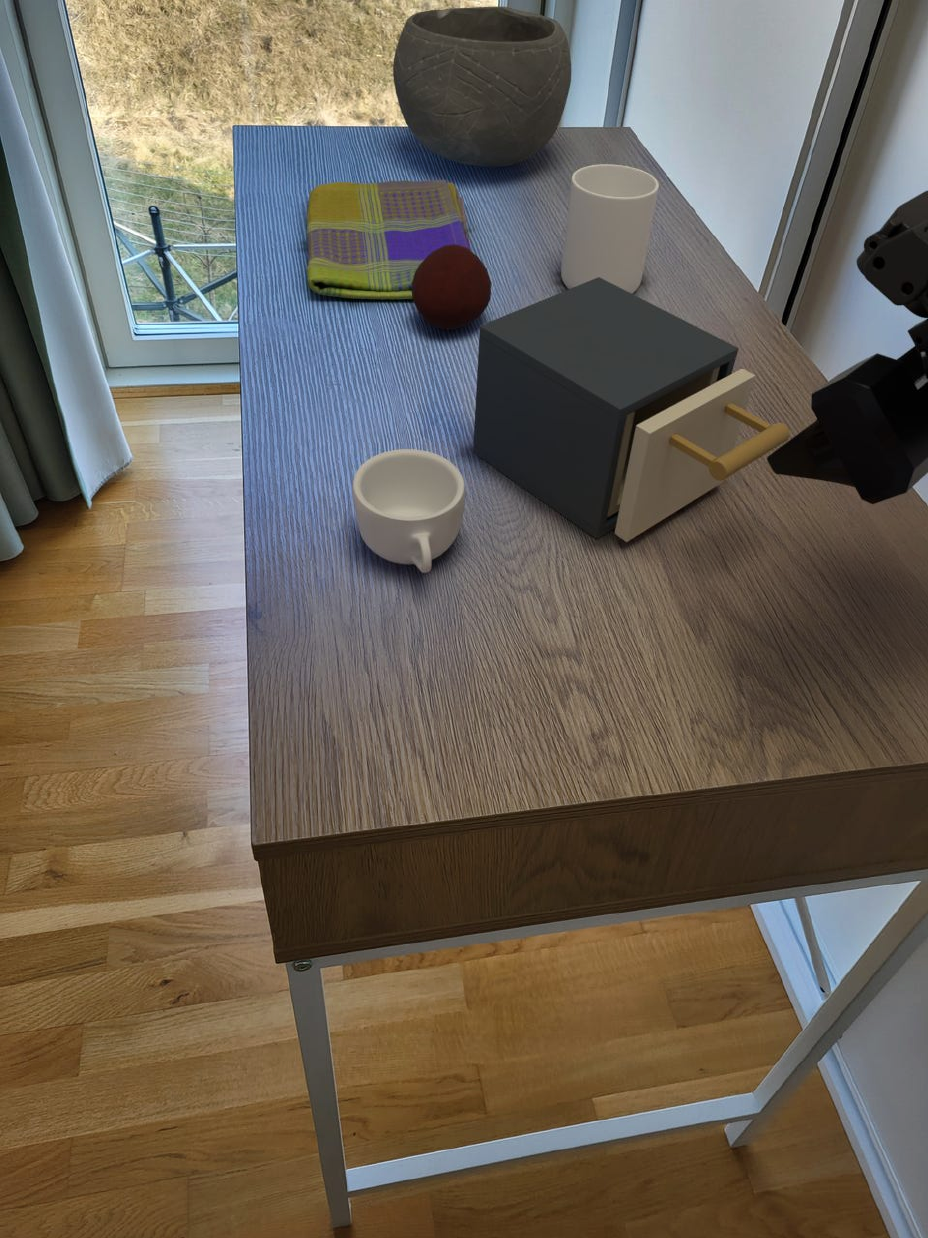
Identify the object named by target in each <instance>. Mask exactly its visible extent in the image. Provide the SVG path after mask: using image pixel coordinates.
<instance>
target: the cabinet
mask: <svg viewBox="0 0 928 1238" xmlns="http://www.w3.org/2000/svg"><path fill="white" fill-rule="evenodd" d="M478 334H479V338H478V352H477V353H478V355H477V371H476V391H475V408H474V427H473V442H472V443H473V444H472V445H473V447H472V453H473V454H474V455H475V456H477V457H478V458H480V459H481V460H482V461H484V462H486V463H488V465H490V466H492V467H493V468H494V469H496V470H497V471H499V472H500V473H501V474H503V475H504V476H505V477H507V478H508V479H510V480H512V481H513V482H514V483H516V484H517V485H518V486H520V487H521V488H523V489H524V490H526V491H527V492H529V493H530V494H531V495H532V496H534V497H536V498H537V499H538V500H540V501H542V503H544V504H546V505H547V506H548V507H550V508H551V509H553V510H554V511H555V512H557V513H558V514H560V515H561V516H563V517H564V518H565V519H567V520H568V521H570V522H571V523H573V524H574V525H576V526H577V527H578V528H579V529H581V530H582V531H584V532H586V534H589V535H590V536H591V537H593V538H595V540H598V539H600V538H601V537H603V536H604V535H606V534H607V533H609V532H611V531H613V530H614V529H616V524H617V519H618V514H619V511H618V512H616V513H614V514H613V515H611V516H609V517H607V515H608V510H609V504H610V499H611V494H612V489H613V483H614V478H615V473H616V468H617V462H618V457H619V452H620V446H621V441H622V436H623V431H624V425H625V420H626V416H627V415H629V414H631V413H632V412H634V411H636V410H638V409H640V408H642V407H644V406H646V405H648V404H650V403H651V402H653V401H655V400H657V399H659V398H661V397H663V396H665V395H667V394H669V393H670V392H672V391H674V390H676V389H678V388H680V387H682V386H684V385H686V384H688V383H689V382H691V381H693V380H695V379H697V378H699V377H701V376H703V375H705V374H707V373H708V372H710V371H712V370H714V369H716V368H718V367H720V369H719V373H718V377H717V381H716V382H718V381H720V380H722V379H723V378H725V377H727V376H729V375H731V374H733V370H734V366H735V363H736V358H737V356H738V353H739V347H737V346H735V345H733V344H731V343H730V342H728V341H725V340H724V339H721V338H720V337H718V336H716V335H713V334H712V333H710V332H708V331H706V330H704V329H702V328H700V327H698V326H696V325H694V324H692V323H690V322H689V321H687V320H685V319H682V318H680V317H678V316H676V315H674V314H672V313H671V312H669V311H667V310H665V309H662V308H661V307H659V306H657V305H655V304H653V303H651V302H649V301H647V300H645V299H643V298H641V297H639V296H637V295H635V294H634V293H632V294H631V293H629V292H627V291H625V290H623V289H621V288H619V287H618V286H616V285H614V284H612V283H610V282H608V281H606V280H604V279H602V278H600V277H598V278H595V279H593V280H590V281H588V282H585V283H583V284H581V285H578V286H576V287H573V288H571V289H568V288H567V289H566V290H564V291H561V292H559V293H557V294H554V295H551V296H549V297H546V298H544V299H542V300H539V301H537V302H535V303H532V304H530V305H527V306H525V307H523V308H520V309H518V310H515V311H512V312H510V313H508V314H505V315H503V316H500V317H498V318H496V319H493V320H491V321H488V322H486V323H483V324H481V325H479V333H478Z"/></svg>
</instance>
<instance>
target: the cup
mask: <svg viewBox="0 0 928 1238" xmlns="http://www.w3.org/2000/svg"><path fill="white" fill-rule="evenodd" d="M659 187H660V185H659V182H658V179H656V177H654V176H653V175H652V174H650V173H648V172H646V171H644V170H641V169H639V168H635V167H633V166H628V165H621V164H613V163H612V164H611V163H610V164H609V163H607V164H606V163H601V164H593V165H592V164H591V165H588V166H583V167H581V168H579V169H577V170H575V172H574V173H573V174H572V176H571V182H570V188H569V189H570V190H569V198H568V207H567V216H566V223H565V231H564V232H565V233H564V240H563V250H562V257H561V265H560V266H561V267H560V268H561V269H560V276H561V280H562V282H563V284H564V286H565V287H566V288H567V290H568V289H571V288H573V287H576V286H578V285H581V284H583V283H585V282H588V281H590V280H593V279H595V278H598V277H600V278H602V279H604V280H606V281H608V282H610V283H612V284H614V285H616V286H618V287H619V288H621V289H623V290H625V291H627V292H629V293H631V294H634V293H635V292H636V291H637V290H638V288H639V287H640V285H641V282H642V279H643V275H644V270H645V264H646V258H647V253H648V248H649V244H650V243H649V242H650V236H651V231H652V226H653V220H654V215H655V209H656V205H657V200H658V194H659V193H658V192H659Z"/></svg>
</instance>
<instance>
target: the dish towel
mask: <svg viewBox="0 0 928 1238" xmlns="http://www.w3.org/2000/svg"><path fill="white" fill-rule="evenodd" d="M306 215H307V217H306V246H307V264H306V265H307V266H306V274H307V285H308V287H309V289H310V290H311V291H313V292H314V293H317V295H322V296H326V297H327V296H328V297H334V298H335V297H336V298H342V299H353V300H354V299H359V300H413V298H412V291H411V286H412V281H413V277H414V274H415V271H416V270H417V268H418V266H419V265H420V264H421V263H422V262H423V261H424V259H425V258H426V257H427V256H428V255H429V254H431V253H432V252H433V251H435V250H437V249H439V248H441V247H443V246H446V245H454V244H456V245H460V246H463V247H466V248H468V249H469V250H470V251H471V247H470V246H471V245H470V237H469V232H468V227H467V218H466V211H465V207H464V198H463V197H461V194H460V190H459V189H458V188H456V186H455V184H454V183H453V182H447V180H446V179H437V180H417V181H415V180H388V181H387V180H386V181H380V182H378V181H377V182H352V181H351V182H350V181H334V182H326V183H322V184H320V185H317V186H315V187H314V188H312V190H311V191H310V192H309V195H308V203H307V213H306Z"/></svg>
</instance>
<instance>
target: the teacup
mask: <svg viewBox="0 0 928 1238" xmlns="http://www.w3.org/2000/svg"><path fill="white" fill-rule="evenodd" d="M352 481H353V482H352V487H351V494H352V500H353V501H352V502H353V508H354V512H355V517H356V518H355V519H356V522H357V527H358V530H359V534H360V536H361V538H362V540H363V541H364V543H365V544H366V546H367V547H368V548H369V549H370V551H372V552H373V553H374V554H375V555H377V556H379V557H381V559H383V560H386V561H389V562H391V563H396V564H400V565H415V566H416V567H417V569H418V570H419V571H420V572H421V573H422V574H427V573H430V572H431V570H432V565H433V564H432V563H433V562H432V561H433V560H434V559H437V558H438V557H440V556H441V555H443V554H444V553H445V552H446V551H447V550H448V549H449V548H450V547H451V546H452V544H453V543H454V542H455V540H456V538H457V536H458V535H459V533H460V531H461V526H462V522H463V516H464V511H465V504H466V485H465V480H464V477H463V475H462V473H461V471H460V470H459V468H457V466H456V465H455V464H453V463H452V462H451V461H450V460H448V459H447V458H445V457H443V456H441V455H439V454H437V453H434V452H431V451H428V450H422V449H415V448H399V449H392V450H387V451H383V452H381V453H379V454H376V455H373V456H372V457H370V458H369V459H367V460H365V461H364V462H363V463H362V464H361V465H360V467H358V468H357V471H356V472H355V474H354V477H353V480H352Z"/></svg>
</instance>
